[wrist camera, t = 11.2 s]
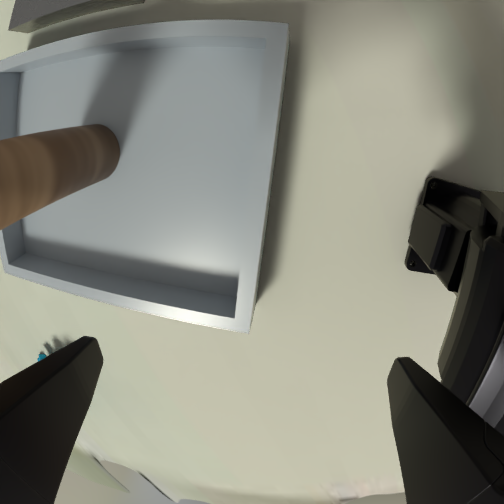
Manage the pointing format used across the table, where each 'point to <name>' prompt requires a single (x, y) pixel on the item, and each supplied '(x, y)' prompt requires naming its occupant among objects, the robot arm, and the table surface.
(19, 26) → the socket block
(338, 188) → the table surface
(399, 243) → the table surface
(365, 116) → the table surface
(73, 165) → the pin
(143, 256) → the tray
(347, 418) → the table surface
